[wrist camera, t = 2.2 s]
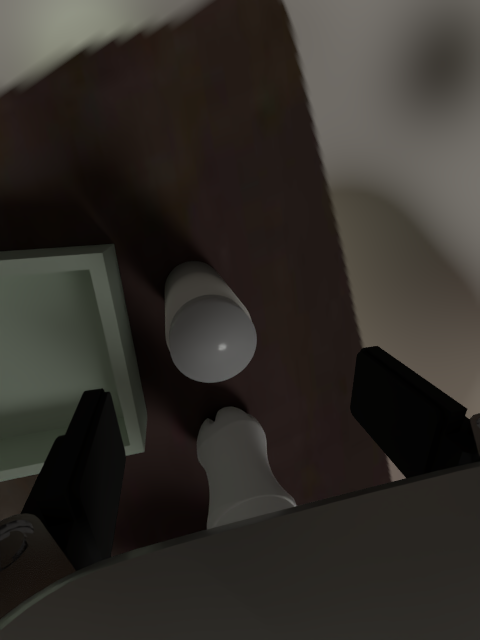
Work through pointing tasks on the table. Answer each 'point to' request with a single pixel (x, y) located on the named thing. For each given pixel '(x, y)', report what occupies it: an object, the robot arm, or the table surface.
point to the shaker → (206, 324)
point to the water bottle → (238, 469)
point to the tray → (62, 350)
